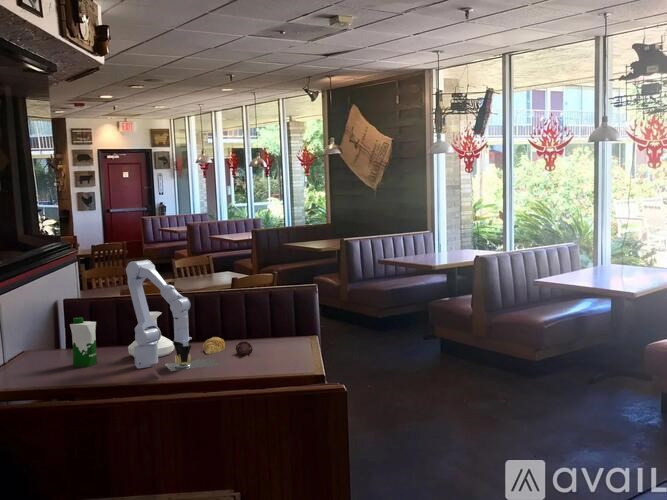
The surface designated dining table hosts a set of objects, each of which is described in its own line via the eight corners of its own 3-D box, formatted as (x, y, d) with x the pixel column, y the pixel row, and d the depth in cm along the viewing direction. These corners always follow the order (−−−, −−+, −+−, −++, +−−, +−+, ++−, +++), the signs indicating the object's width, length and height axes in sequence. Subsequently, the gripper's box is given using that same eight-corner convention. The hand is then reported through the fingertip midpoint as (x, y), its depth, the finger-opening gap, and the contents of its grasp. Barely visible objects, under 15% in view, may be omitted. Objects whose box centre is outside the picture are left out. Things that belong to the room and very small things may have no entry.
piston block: (171, 374, 269) (170, 361, 269) (164, 366, 282) (163, 354, 282) (220, 367, 278) (220, 355, 277) (211, 360, 290) (211, 348, 290)
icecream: (253, 345, 290) (254, 341, 305) (236, 341, 290) (238, 337, 305) (249, 361, 290) (251, 356, 305) (232, 357, 289) (235, 352, 304)
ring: (177, 364, 273) (177, 357, 273) (174, 361, 279) (174, 354, 278) (191, 362, 276) (191, 355, 276) (188, 360, 281) (188, 352, 281)
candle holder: (120, 361, 294) (117, 317, 293) (141, 351, 314) (139, 309, 313) (163, 362, 291) (161, 317, 289) (182, 351, 310) (180, 310, 309)
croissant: (214, 365, 298) (222, 349, 297) (194, 354, 298) (202, 338, 297) (225, 353, 319) (233, 338, 318) (206, 343, 319) (214, 328, 319)
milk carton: (81, 362, 295) (79, 316, 294) (100, 362, 293) (98, 316, 292) (69, 366, 286) (67, 319, 285) (89, 367, 285) (86, 320, 283)
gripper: (195, 329, 271) (196, 363, 272) (187, 324, 284) (188, 356, 285) (177, 331, 268) (179, 365, 269) (170, 325, 281) (171, 358, 282)
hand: (182, 360), depth 277 cm, fingers closed on ring, 6 cm apart
